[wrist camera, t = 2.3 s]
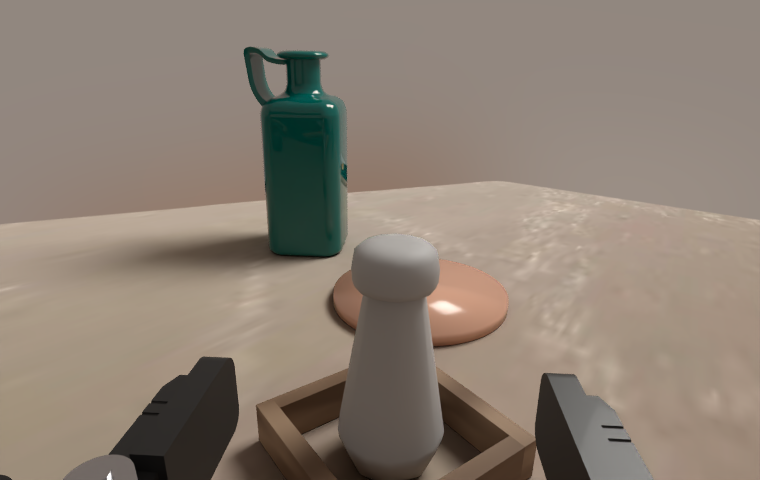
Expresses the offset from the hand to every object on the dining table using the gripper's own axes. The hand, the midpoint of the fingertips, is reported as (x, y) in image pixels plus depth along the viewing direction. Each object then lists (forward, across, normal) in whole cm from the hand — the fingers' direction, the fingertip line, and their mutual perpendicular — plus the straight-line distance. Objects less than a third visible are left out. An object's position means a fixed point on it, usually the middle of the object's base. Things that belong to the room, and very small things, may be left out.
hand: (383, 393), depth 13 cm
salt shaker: (+12, 0, +13) cm, 18 cm away
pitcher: (+45, +12, +12) cm, 48 cm away
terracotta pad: (+31, -1, +13) cm, 34 cm away
